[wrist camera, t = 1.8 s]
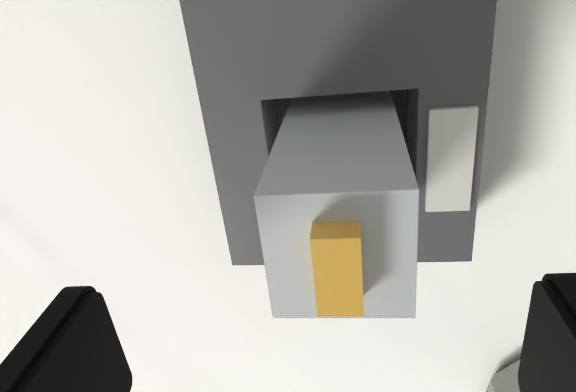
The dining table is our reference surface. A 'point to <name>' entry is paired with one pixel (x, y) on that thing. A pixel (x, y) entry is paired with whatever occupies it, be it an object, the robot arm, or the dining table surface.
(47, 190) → the dining table surface
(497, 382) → the water bottle
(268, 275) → the plug
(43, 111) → the dining table surface
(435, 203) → the panel
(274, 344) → the dining table surface
